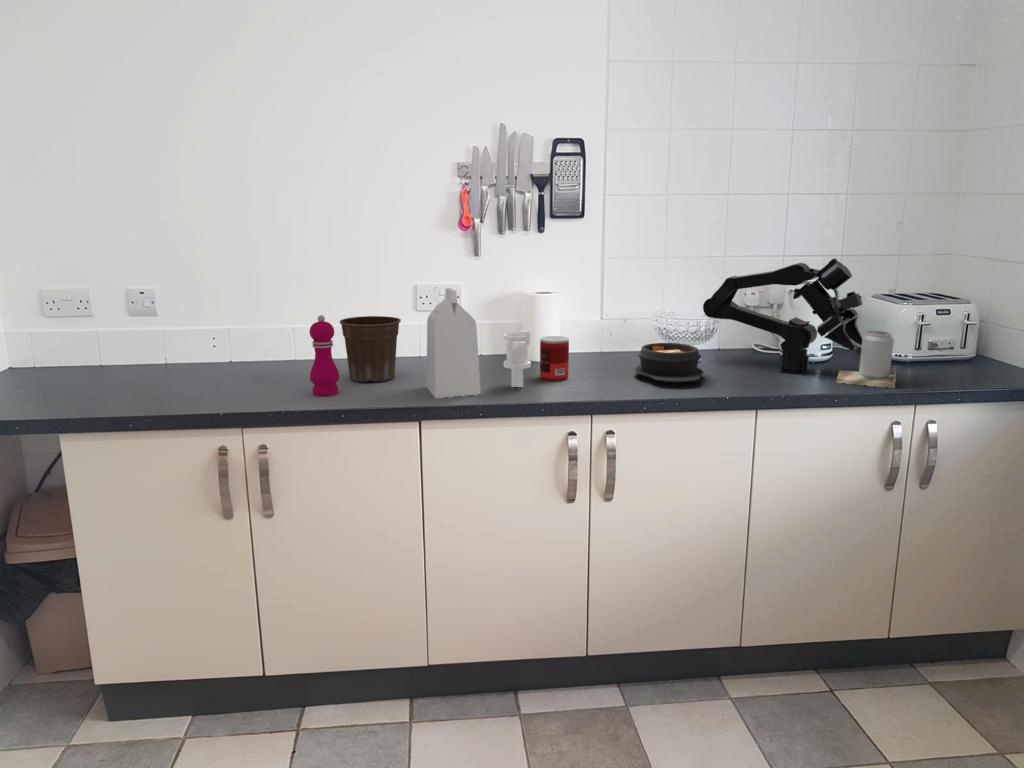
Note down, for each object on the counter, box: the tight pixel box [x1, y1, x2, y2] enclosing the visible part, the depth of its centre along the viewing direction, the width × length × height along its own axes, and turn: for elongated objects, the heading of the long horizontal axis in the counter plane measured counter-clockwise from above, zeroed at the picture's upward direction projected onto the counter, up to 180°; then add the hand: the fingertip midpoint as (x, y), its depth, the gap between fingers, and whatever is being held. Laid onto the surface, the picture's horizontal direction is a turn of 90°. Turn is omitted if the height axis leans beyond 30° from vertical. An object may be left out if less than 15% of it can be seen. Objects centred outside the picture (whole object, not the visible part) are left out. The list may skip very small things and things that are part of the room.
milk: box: [426, 287, 482, 399], centre depth 200 cm, size 12×12×26 cm
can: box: [858, 330, 895, 379], centre depth 210 cm, size 8×8×12 cm
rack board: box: [835, 367, 897, 389], centre depth 212 cm, size 14×11×3 cm
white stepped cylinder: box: [503, 329, 532, 389], centre depth 206 cm, size 7×7×15 cm
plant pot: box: [339, 315, 402, 383], centre depth 216 cm, size 16×16×16 cm
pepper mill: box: [309, 314, 340, 397], centre depth 199 cm, size 7×7×20 cm
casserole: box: [634, 342, 704, 383], centre depth 216 cm, size 25×19×8 cm
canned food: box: [539, 335, 570, 382], centre depth 216 cm, size 8×8×11 cm
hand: (858, 346), depth 212 cm, fingers open, 9 cm apart
